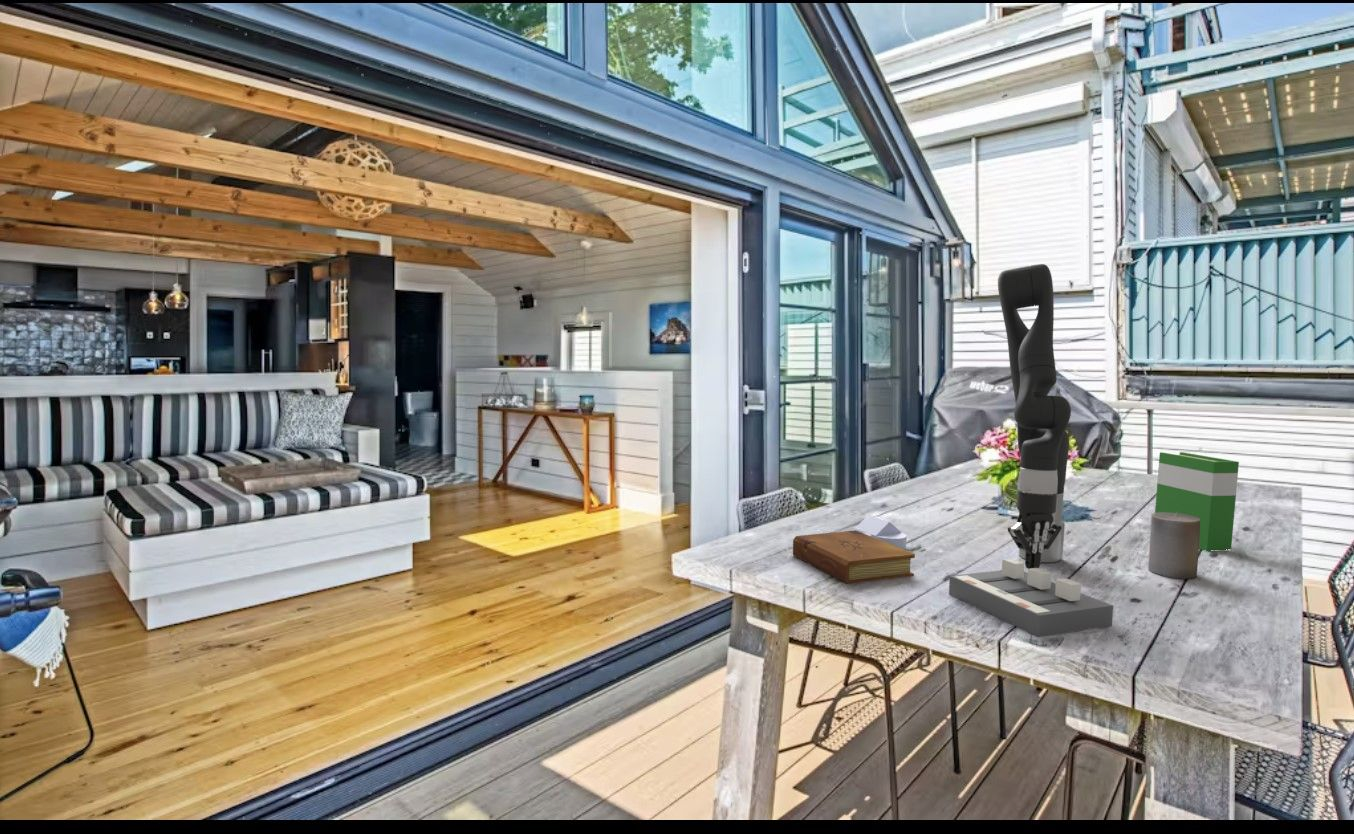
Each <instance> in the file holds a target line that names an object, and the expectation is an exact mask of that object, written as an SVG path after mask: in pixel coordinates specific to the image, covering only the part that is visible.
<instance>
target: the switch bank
mask: <svg viewBox="0 0 1354 834" xmlns="http://www.w3.org/2000/svg"><path fill="white" fill-rule="evenodd" d="M1027 578H1028V571H1027V572H1026V571H1024V577H1023V578H1018V579H1013V578H1011V577H1008V576H1006V575H1003V574H1002V569H1001V570H999V569H998V570H992V571H984V572H983V571H982V572H972V573H965V574H956V575H955V574H954V575H949V585H948V594H949V596H952V597H954V598H955V599H956V598H957V599H958V600H960V599H961V600H960V601H962V600H963V602H965V603H967V604H969V605H971V606H973V607H975V606H976V607H975V608H977V609H979V608H980V609H979V610H982V611H984V612H986V613H987V614H990V615H992V616H994V617H996V618H998V619H1001V620H1002V621H1005V622H1007V623H1008V624H1010V625H1012V626H1015V627H1018V628H1019V629H1021V630H1023V631H1024V632H1025V631H1026V632H1028V633H1029V634H1032V635H1033V636H1035V637H1039V638H1040V637H1046V636H1053V635H1059V634H1067V633H1073V632H1080V631H1086V630H1092V629H1100V628H1106V627H1112V626H1113V618H1114V617H1113V616H1114V605H1113V604H1111V603H1108V602H1105V601H1102V600H1100V599H1098V598H1095V597H1092V596H1090V595H1087V594H1085V593H1083V592H1081V594H1080V600H1077V601H1068V600H1066V599H1063V598H1061V597H1058V596H1056V595H1055V589H1056V582H1053V581H1051V588H1050V589H1042V590H1041V589H1038V588H1036V587H1033V586H1031V585H1028V584H1027Z"/></svg>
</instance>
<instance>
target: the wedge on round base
mask: <svg viewBox="0 0 1354 834" xmlns="http://www.w3.org/2000/svg"><path fill="white" fill-rule="evenodd" d="M854 529H855V530H857V531H861V532H862V533H866V534H868V535H870V536H871V537H874V538H876V539H879V540H881V541H884V542H886V543H889V544H891V545H894V546H896V547H899V548H901V549H904V550H906V549H907V534H906V533H904V532H902V531H901V530H899V528H897V526H895V525H894V524H893V523H892V522H890V521H888V520H886V519H882V518H879V517H877V516H876V517H875V516H872V515H870V514H868V515H867V516H865V517H864V519H863V520H862V521H860V523H858V524H857V526H856V527H854Z"/></svg>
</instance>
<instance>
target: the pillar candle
mask: <svg viewBox="0 0 1354 834" xmlns="http://www.w3.org/2000/svg"><path fill="white" fill-rule="evenodd" d="M1177 512H1178V511H1177ZM1177 512H1176V513H1164V512H1162V513H1155V512H1153V513H1151V514H1150V515H1151V521H1150V533H1149V534H1150V535H1149V549H1148V567H1147V569H1148V571H1149V572H1150V573H1153V574H1157V575H1159V576H1161V577H1166V578H1172V579H1181V580H1182V579H1183V580H1184V579H1187V580H1188V579H1195V578H1197V577H1198V565H1199V564H1198V562H1199V553H1200V551H1199V550H1200V549H1199V538H1200V519H1199V518H1197V517H1194V516H1190V515H1185V514H1178V513H1177Z"/></svg>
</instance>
